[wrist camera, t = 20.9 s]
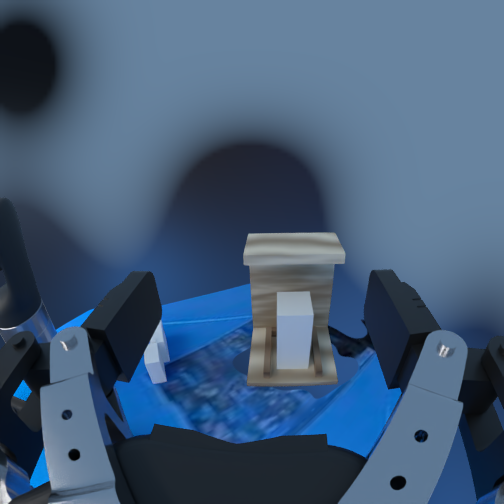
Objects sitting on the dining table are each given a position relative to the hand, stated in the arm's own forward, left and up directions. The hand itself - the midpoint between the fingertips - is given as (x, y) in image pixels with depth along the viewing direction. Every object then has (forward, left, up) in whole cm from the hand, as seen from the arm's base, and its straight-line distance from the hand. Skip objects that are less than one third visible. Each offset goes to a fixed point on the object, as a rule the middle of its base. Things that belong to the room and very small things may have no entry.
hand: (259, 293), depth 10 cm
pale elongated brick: (-10, +23, -29) cm, 39 cm away
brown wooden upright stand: (-11, +25, -30) cm, 40 cm away
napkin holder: (-29, +10, -31) cm, 44 cm away
